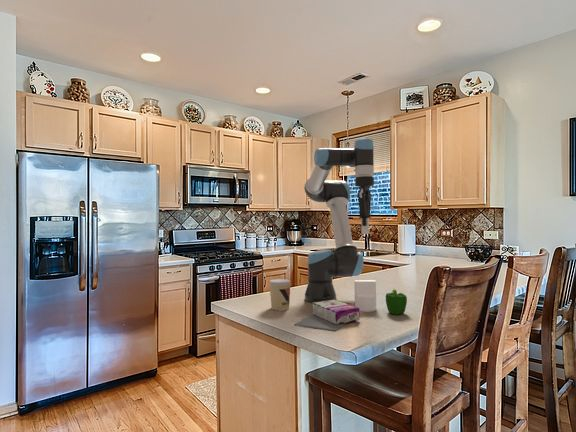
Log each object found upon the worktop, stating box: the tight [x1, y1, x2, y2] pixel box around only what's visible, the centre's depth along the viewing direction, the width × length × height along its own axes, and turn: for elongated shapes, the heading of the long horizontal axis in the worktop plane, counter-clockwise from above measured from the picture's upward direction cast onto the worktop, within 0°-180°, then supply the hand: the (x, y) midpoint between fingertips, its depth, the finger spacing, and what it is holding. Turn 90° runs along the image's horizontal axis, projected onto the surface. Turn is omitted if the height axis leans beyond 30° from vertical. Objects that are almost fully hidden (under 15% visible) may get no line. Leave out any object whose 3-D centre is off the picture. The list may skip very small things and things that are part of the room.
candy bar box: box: [312, 299, 361, 324], centre depth 137 cm, size 11×5×16 cm
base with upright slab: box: [354, 279, 377, 313], centre depth 151 cm, size 9×9×12 cm
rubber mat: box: [294, 312, 346, 332], centre depth 133 cm, size 16×17×1 cm
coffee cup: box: [268, 278, 292, 311], centre depth 154 cm, size 9×9×12 cm
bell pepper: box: [385, 289, 408, 316], centre depth 144 cm, size 8×8×10 cm
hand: (365, 233), depth 145 cm, fingers closed
